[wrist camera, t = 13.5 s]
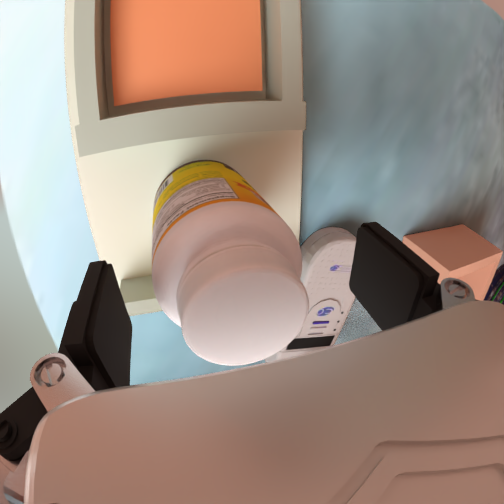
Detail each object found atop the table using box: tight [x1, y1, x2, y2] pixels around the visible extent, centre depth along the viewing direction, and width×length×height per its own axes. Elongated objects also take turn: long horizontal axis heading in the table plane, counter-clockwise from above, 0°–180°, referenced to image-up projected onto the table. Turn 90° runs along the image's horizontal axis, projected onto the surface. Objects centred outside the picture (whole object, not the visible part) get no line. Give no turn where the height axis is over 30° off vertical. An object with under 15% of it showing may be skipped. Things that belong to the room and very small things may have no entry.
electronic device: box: [265, 227, 356, 362], centre depth 21 cm, size 5×10×15 cm
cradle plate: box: [110, 0, 263, 106], centre depth 12 cm, size 8×8×1 cm
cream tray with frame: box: [64, 0, 306, 316], centre depth 14 cm, size 13×21×3 cm, turn 2°
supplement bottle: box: [152, 159, 309, 365], centre depth 13 cm, size 6×6×10 cm
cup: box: [402, 224, 503, 301], centre depth 25 cm, size 10×10×6 cm
